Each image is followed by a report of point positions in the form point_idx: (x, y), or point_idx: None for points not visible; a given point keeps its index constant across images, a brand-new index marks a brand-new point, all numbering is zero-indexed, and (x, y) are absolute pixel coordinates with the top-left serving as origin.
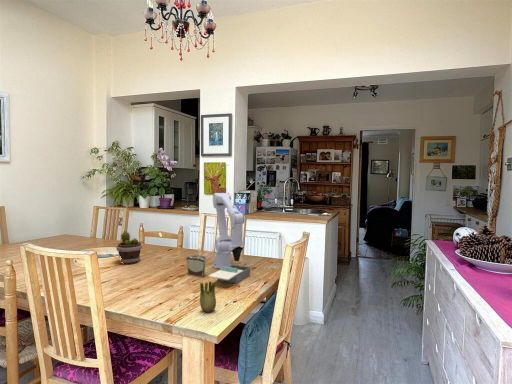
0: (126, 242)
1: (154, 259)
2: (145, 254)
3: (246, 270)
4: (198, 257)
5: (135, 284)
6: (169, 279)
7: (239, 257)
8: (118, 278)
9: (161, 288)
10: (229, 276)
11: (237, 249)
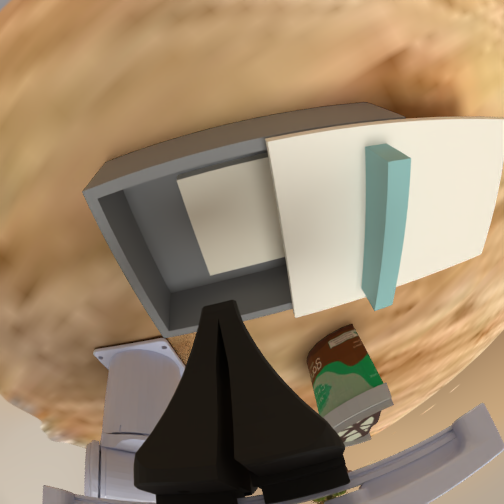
0: (345, 490)
1: None
2: None
3: (173, 157)
4: (341, 432)
5: (456, 356)
6: (410, 355)
7: (208, 336)
8: (423, 394)
9: (479, 306)
10: (475, 139)
11: (333, 455)
